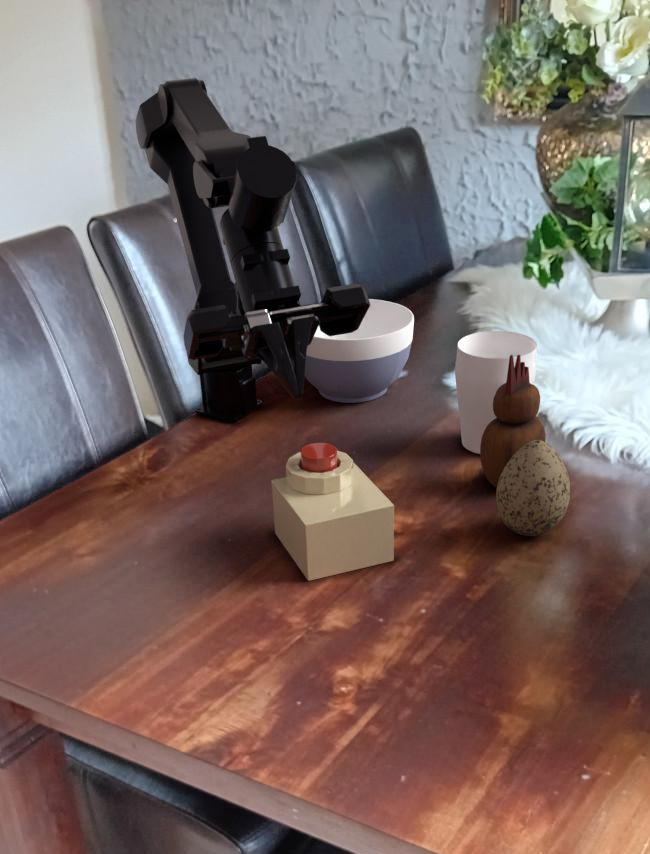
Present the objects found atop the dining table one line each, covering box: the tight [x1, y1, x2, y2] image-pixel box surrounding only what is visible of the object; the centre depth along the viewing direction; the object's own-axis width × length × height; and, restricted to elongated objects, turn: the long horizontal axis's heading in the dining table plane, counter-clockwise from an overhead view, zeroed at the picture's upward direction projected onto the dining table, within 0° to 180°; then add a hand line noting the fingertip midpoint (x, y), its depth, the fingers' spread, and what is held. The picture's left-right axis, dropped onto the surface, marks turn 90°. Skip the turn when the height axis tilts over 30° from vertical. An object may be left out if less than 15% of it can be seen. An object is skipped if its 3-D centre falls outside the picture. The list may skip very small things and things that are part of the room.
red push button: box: [300, 442, 338, 473], centre depth 99 cm, size 4×4×2 cm
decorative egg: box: [495, 440, 571, 537], centre depth 99 cm, size 7×7×10 cm
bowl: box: [305, 298, 415, 404], centre depth 131 cm, size 16×16×10 cm
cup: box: [454, 330, 538, 455], centre depth 115 cm, size 9×9×12 cm
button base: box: [270, 450, 395, 582], centre depth 99 cm, size 11×9×8 cm
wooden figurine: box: [479, 355, 547, 488], centre depth 106 cm, size 7×6×15 cm
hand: (298, 398), depth 101 cm, fingers closed
